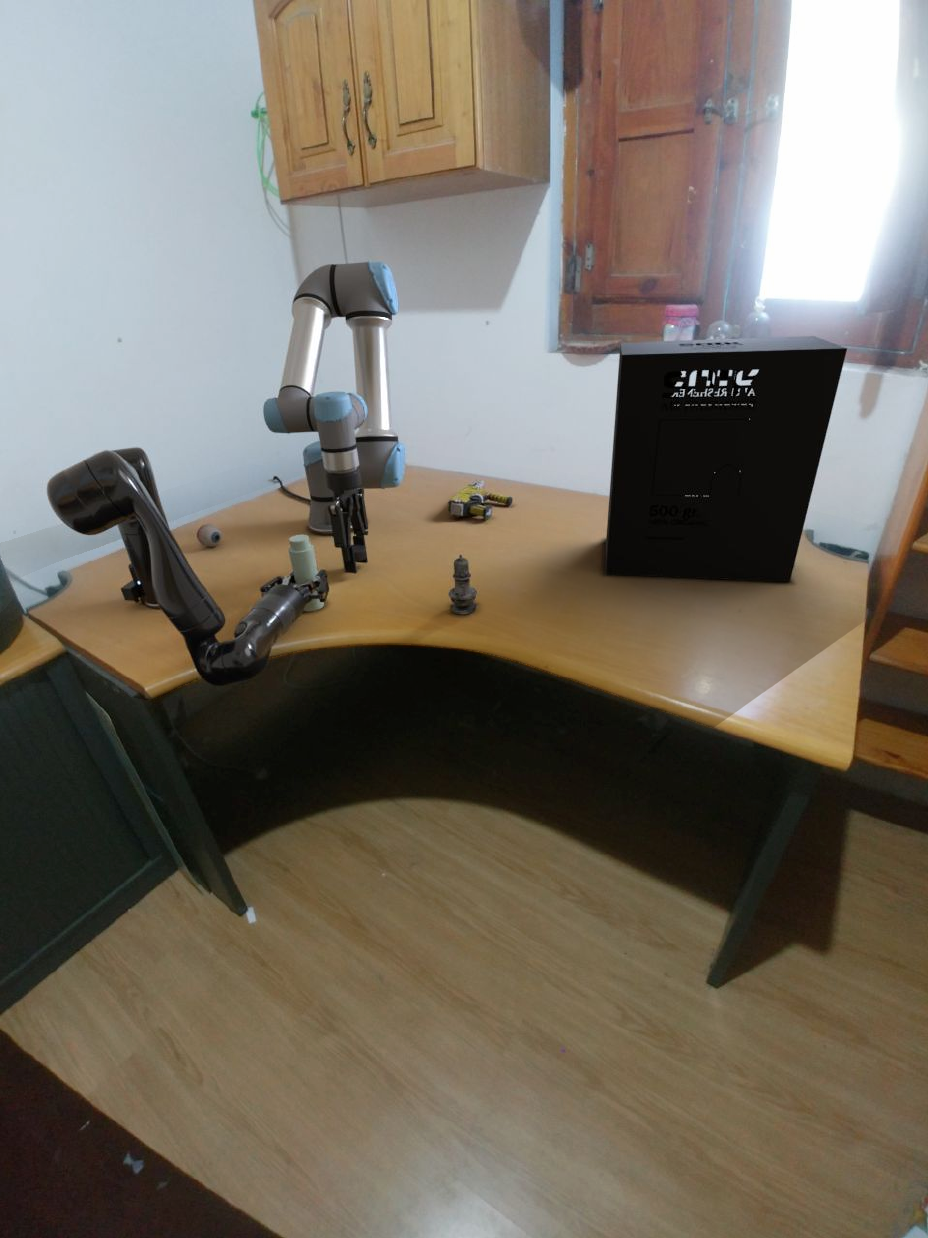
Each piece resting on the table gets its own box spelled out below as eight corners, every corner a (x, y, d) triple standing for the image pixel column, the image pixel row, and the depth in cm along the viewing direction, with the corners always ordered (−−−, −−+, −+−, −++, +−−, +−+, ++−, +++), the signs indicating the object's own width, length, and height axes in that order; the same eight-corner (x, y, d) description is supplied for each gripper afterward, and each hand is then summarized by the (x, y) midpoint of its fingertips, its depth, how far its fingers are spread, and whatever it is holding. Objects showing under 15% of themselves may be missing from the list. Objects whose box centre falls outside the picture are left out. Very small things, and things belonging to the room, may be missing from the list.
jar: (317, 598, 131) (304, 531, 124) (328, 606, 128) (315, 537, 120) (296, 605, 129) (282, 538, 121) (307, 613, 125) (292, 544, 118)
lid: (344, 563, 138) (342, 554, 137) (343, 554, 142) (342, 545, 141) (367, 560, 138) (366, 551, 137) (366, 551, 143) (364, 542, 142)
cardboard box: (768, 543, 143) (813, 335, 121) (789, 582, 126) (847, 348, 104) (606, 538, 151) (620, 342, 128) (605, 574, 134) (622, 354, 111)
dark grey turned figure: (475, 615, 121) (472, 561, 115) (446, 614, 122) (442, 560, 116) (480, 601, 126) (478, 548, 120) (452, 600, 127) (449, 547, 121)
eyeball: (210, 552, 157) (204, 530, 154) (195, 548, 160) (189, 526, 157) (229, 544, 161) (224, 522, 158) (214, 540, 164) (208, 519, 161)
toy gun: (520, 484, 182) (474, 477, 186) (498, 508, 162) (446, 499, 166) (519, 500, 184) (473, 492, 188) (497, 524, 164) (445, 516, 168)
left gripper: (308, 596, 110) (341, 557, 124) (236, 593, 112) (277, 555, 127) (315, 631, 114) (346, 589, 128) (245, 627, 116) (284, 587, 131)
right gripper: (345, 457, 139) (358, 550, 150) (305, 480, 124) (323, 582, 135) (375, 458, 137) (386, 552, 148) (338, 481, 122) (354, 585, 133)
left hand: (311, 573), depth 127 cm, fingers closed on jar, 5 cm apart
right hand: (356, 566), depth 142 cm, fingers closed on lid, 5 cm apart
